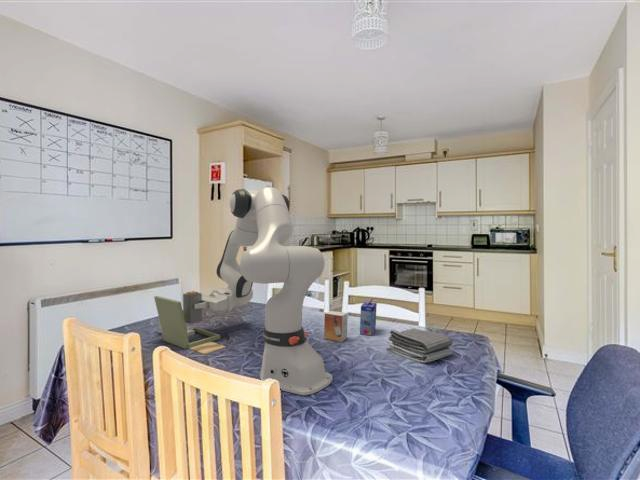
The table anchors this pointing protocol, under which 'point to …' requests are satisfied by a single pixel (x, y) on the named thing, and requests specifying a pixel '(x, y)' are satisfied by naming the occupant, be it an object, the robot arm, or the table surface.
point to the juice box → (368, 318)
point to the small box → (335, 326)
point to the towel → (420, 345)
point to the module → (188, 310)
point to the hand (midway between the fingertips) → (189, 305)
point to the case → (178, 324)
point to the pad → (207, 347)
